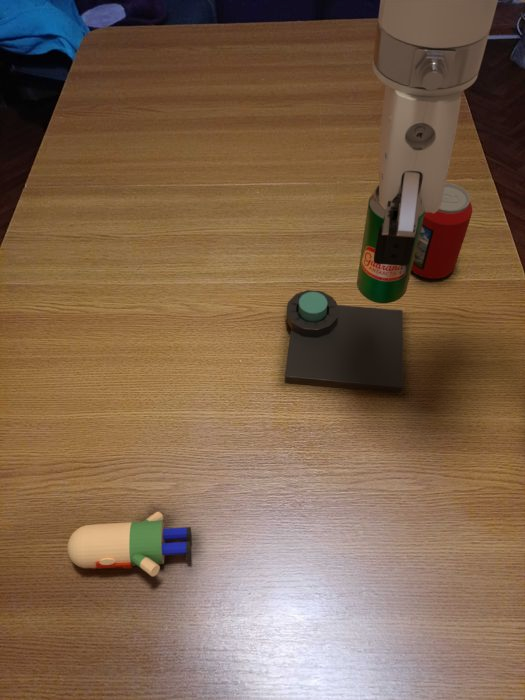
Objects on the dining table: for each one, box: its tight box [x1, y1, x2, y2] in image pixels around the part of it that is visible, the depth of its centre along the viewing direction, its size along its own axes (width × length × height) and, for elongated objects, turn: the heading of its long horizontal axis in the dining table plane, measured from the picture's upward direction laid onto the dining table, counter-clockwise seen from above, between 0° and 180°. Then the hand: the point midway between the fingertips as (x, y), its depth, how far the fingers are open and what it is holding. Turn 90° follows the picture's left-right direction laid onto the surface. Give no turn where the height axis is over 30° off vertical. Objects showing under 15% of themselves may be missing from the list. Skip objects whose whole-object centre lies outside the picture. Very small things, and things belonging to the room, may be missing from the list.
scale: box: [284, 289, 404, 395], centre depth 77 cm, size 15×13×3 cm
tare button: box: [298, 292, 328, 322], centre depth 77 cm, size 4×4×2 cm
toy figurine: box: [66, 511, 193, 577], centre depth 61 cm, size 8×4×12 cm
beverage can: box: [411, 182, 473, 279], centre depth 81 cm, size 7×7×12 cm
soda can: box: [356, 184, 425, 304], centre depth 58 cm, size 5×5×12 cm
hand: (391, 238), depth 58 cm, fingers closed on soda can, 5 cm apart
